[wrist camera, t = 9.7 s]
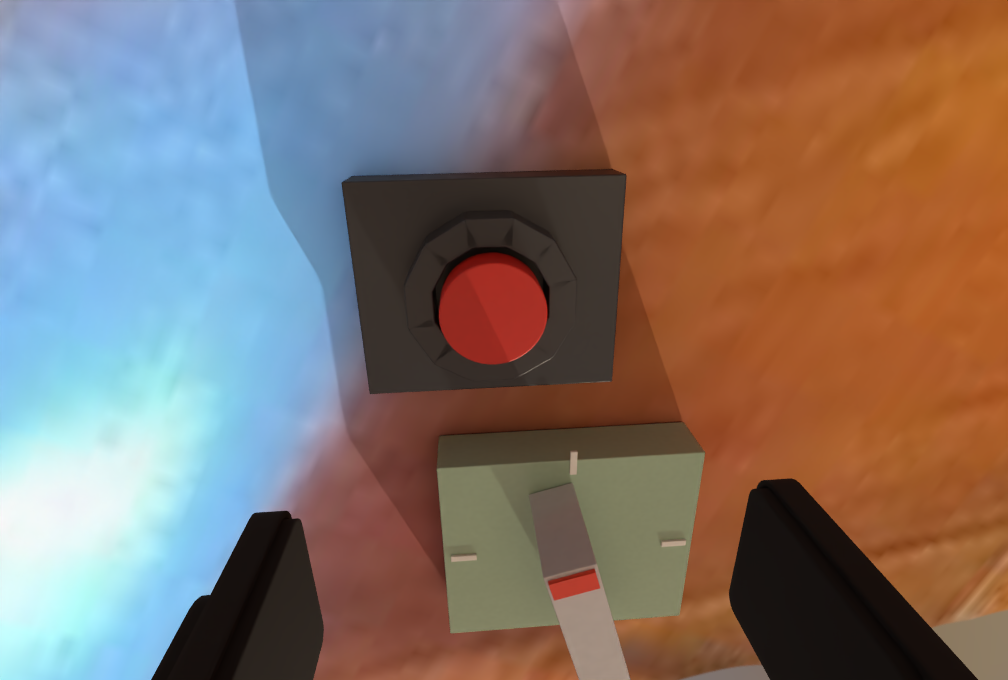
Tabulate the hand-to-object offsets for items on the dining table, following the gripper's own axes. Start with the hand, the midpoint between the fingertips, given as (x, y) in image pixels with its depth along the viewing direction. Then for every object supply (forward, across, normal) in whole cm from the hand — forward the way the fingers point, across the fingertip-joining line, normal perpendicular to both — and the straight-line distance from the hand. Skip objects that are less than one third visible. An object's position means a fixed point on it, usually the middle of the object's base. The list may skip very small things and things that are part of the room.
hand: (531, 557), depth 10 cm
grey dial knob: (+15, -4, +15) cm, 22 cm away
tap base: (+18, -4, +15) cm, 24 cm away
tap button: (+14, 0, 0) cm, 14 cm away
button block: (+18, 0, 0) cm, 18 cm away
